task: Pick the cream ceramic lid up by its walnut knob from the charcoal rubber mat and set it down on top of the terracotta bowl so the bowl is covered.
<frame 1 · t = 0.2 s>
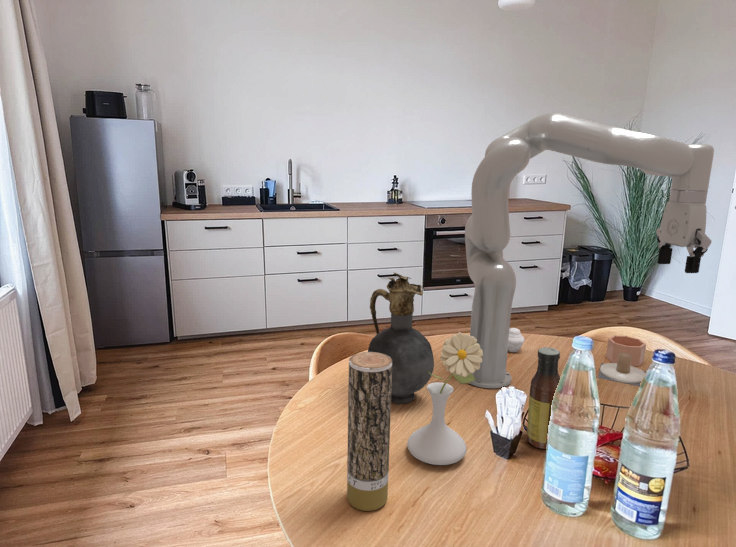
hand: (677, 268, 129), 30 cm above the table, tool pointing down, fingers open, 9 cm apart
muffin: (512, 350, 155), on the table
mat: (622, 376, 139), on the table
sauce bottle: (541, 443, 107), on the table
flower in vase: (440, 455, 102), on the table
paper tube: (367, 500, 88), on the table
pitcher: (394, 394, 126), on the table
lid: (622, 374, 139), resting on mat
bowl: (624, 361, 149), on the table
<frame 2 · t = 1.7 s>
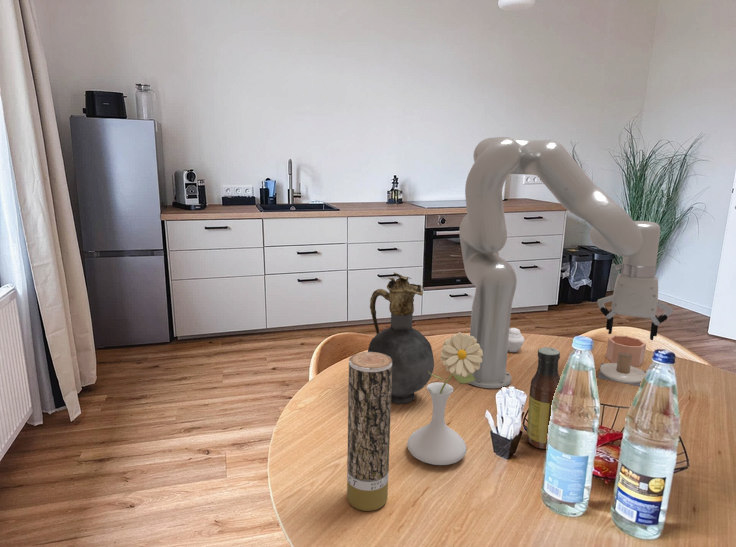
hand: (630, 335, 136), 11 cm above the table, tool pointing down, fingers open, 9 cm apart
nothing on the table moved.
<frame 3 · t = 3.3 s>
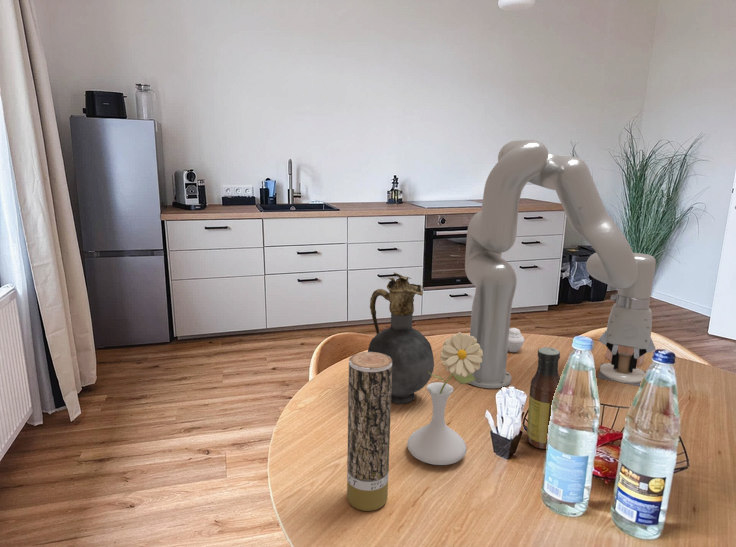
hand: (623, 368, 138), 2 cm above the table, tool pointing down, fingers closed on lid, 3 cm apart
lid: (622, 374, 139), point 1 cm above the table, touching gripper, mat
everything else where it was.
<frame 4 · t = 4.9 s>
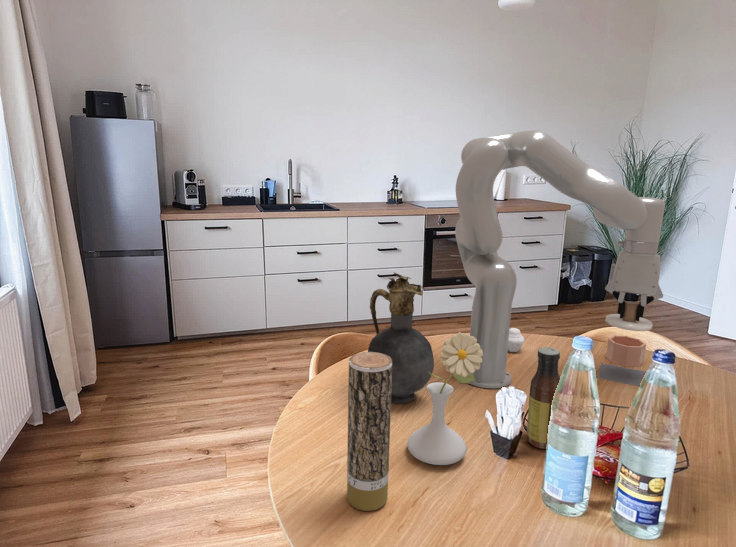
hand: (629, 317, 135), 16 cm above the table, tool pointing down, fingers closed on lid, 3 cm apart
lid: (628, 323, 135), point 15 cm above the table, touching gripper
everything else where it was.
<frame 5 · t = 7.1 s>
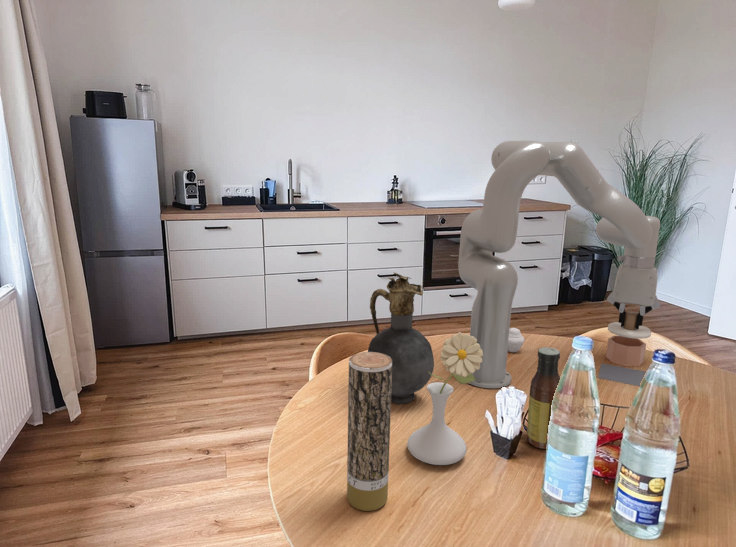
hand: (629, 326, 146), 10 cm above the table, tool pointing down, fingers closed on lid, 3 cm apart
lid: (628, 331, 147), point 9 cm above the table, touching gripper
everything else where it was.
when the fingers open (9 cm above the table, at t = 7.7 s): lid stays where it is, resting on bowl.
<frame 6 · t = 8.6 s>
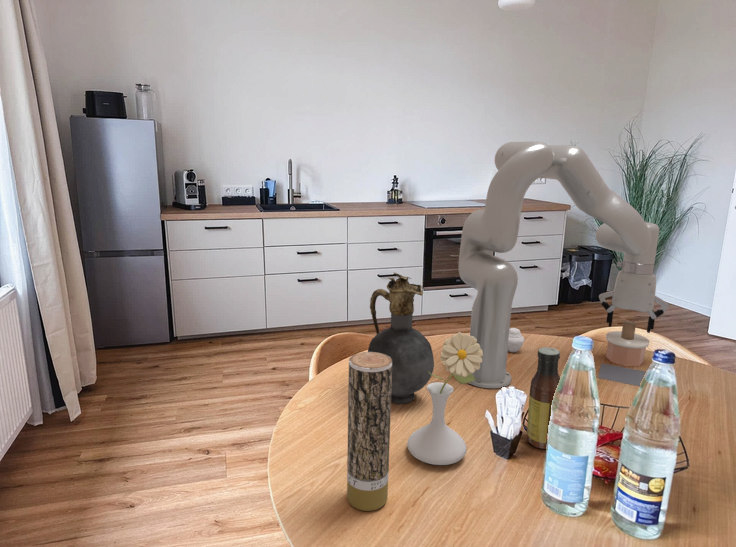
hand: (628, 328, 147), 10 cm above the table, tool pointing down, fingers open, 9 cm apart
lid: (626, 341, 147), point 6 cm above the table, touching bowl
everything else where it was.
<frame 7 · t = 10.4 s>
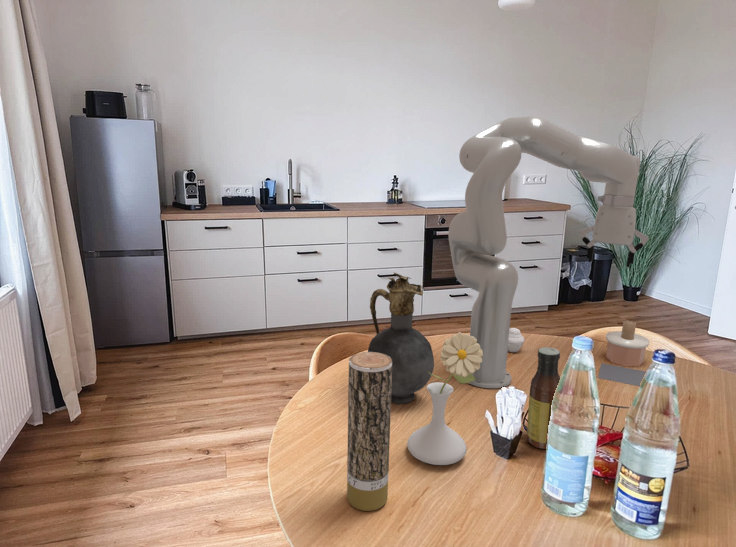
hand: (609, 263, 146), 27 cm above the table, tool pointing down, fingers open, 9 cm apart
nothing on the table moved.
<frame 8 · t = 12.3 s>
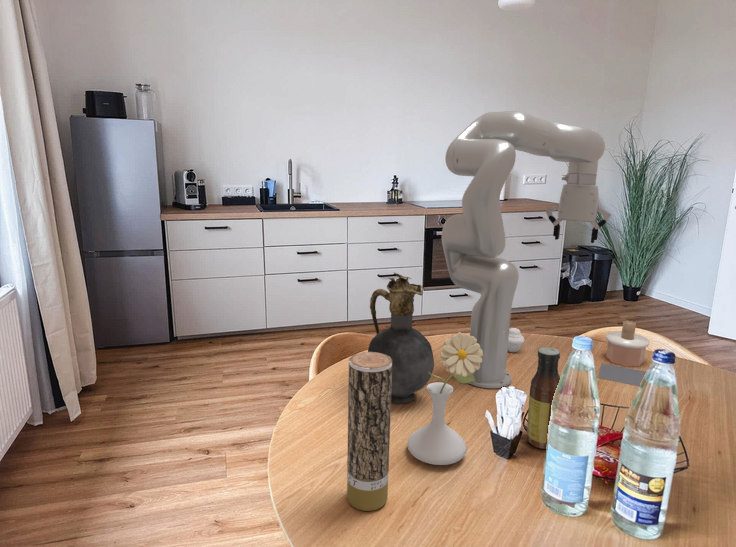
hand: (574, 240, 151), 32 cm above the table, tool pointing down, fingers open, 9 cm apart
nothing on the table moved.
at the end: lid 0.1 cm off-centre on the bowl, point 6.0 cm above the bowl's base; lid tilted 0°; the gripper is holding nothing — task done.
